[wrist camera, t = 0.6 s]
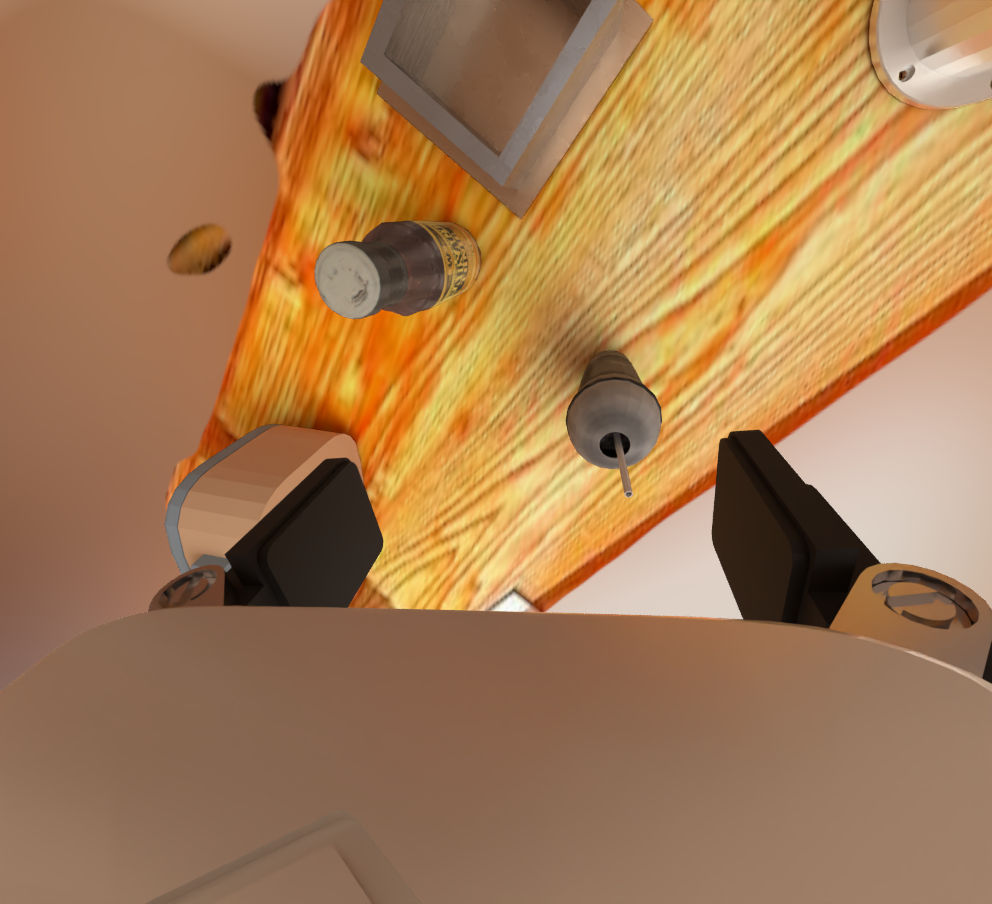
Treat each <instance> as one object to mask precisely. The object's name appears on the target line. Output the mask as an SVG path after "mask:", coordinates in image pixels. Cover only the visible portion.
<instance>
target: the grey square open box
mask: <svg viewBox="0 0 992 904" xmlns="http://www.w3.org/2000/svg"><path fill="white" fill-rule="evenodd" d="M652 23H653V19H652V18H651V17H650V16H649V14H648V13H647V12H646V11H645V10H644V9H643V8H642V7H641V6H640V5H639V4H638V3H637V2H636V1H635V0H383V3H382V6H381V8H380V11H379V14H378V16H377V19H376V21H375V24H374V27H373V29H372V32H371V35H370V37H369V40H368V43H367V45H366V48H365V50H364V53H363V56H362V58H361V61H360V62H361V63H362V64H364V65H365V66H366V67H367V68H368V69H369V70H370V71H371V72H373V73H374V74H375V75H376V76H377V77H378V78H379V79H381V80H382V82H381V84H380V86H379V89H378V91H377V94H378V95H379V96H380V97H381V98H382V99H384V100H385V101H386V102H387V103H388V104H389V105H391V106H392V107H393V108H394V109H395V110H396V111H397V112H399V113H400V114H401V115H402V116H403V117H404V118H405V119H407V120H408V121H409V122H410V123H411V124H412V125H413V126H415V127H416V128H417V129H418V130H419V131H420V132H422V133H423V134H424V135H425V136H426V137H427V138H428V139H430V140H431V141H432V142H433V143H434V144H435V145H436V146H438V147H439V148H440V149H441V150H442V151H443V152H445V153H446V154H447V155H448V156H449V157H450V158H451V159H453V160H454V161H455V162H456V163H457V164H458V165H459V166H461V167H462V168H463V169H464V170H465V171H466V172H467V173H469V174H470V175H471V176H472V177H473V178H474V179H476V180H477V181H478V182H479V183H480V184H481V185H482V186H484V187H485V188H486V189H487V190H488V191H489V192H490V193H492V194H493V195H494V196H495V197H496V198H497V199H499V200H500V201H501V202H502V203H503V204H504V205H505V206H507V207H508V208H509V209H510V210H511V211H512V212H513V213H515V214H516V215H517V216H518V217H519V218H520V219H523V217H524V216H525V214H526V213H527V211H528V210H529V208H530V207H531V205H532V204H533V202H534V201H535V199H536V198H537V196H538V195H539V193H540V192H541V190H542V189H543V187H544V186H545V184H546V183H547V181H548V180H549V178H550V177H551V175H552V174H553V172H554V171H555V169H556V168H557V166H558V165H559V163H560V162H561V160H562V159H563V157H564V156H565V154H566V153H567V151H568V150H569V148H570V147H571V145H572V144H573V142H574V141H575V139H576V138H577V136H578V135H579V133H580V132H581V130H582V129H583V127H584V126H585V124H586V123H587V121H588V120H589V118H590V117H591V115H592V114H593V112H594V111H595V109H596V108H597V106H598V105H599V103H600V102H601V100H602V99H603V97H604V96H605V94H606V93H607V91H608V90H609V88H610V87H611V85H612V84H613V82H614V81H615V79H616V78H617V76H618V75H619V73H620V72H621V70H622V69H623V67H624V66H625V64H626V63H627V61H628V60H629V58H630V57H631V55H632V54H633V52H634V51H635V49H636V48H637V46H638V45H639V43H640V42H641V40H642V39H643V37H644V36H645V34H646V33H647V31H648V30H649V28H650V27H651V25H652Z"/></svg>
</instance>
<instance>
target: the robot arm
mask: <svg viewBox="0 0 992 904" xmlns="http://www.w3.org/2000/svg"><path fill="white" fill-rule="evenodd" d="M869 45H870V52H871V59H872V63H873V66H874V68H875V71H876V73H877V76H878V78H879V80H880V81H881V83H882V84H883V85H884V86H885V88H886V89H887V90H888V92H889V93H890V94H892V95H893V96H895V97H896V98H897V99H899V100H900V101H902V102H903V103H906V104H909V105H912V106H914V107H917V108H922V109H933V110H942V109H951V108H959V107H963V106H966V105H970V104H974V103H978V102H981V101H984V100H987V99H990V98H992V85H991V86H990V84H991V81H992V0H874V3H873V8H872V12H871V17H870V32H869ZM900 72H901V73H902V74H903V76H902V78H901V80H900V81H899V78H898V77H899V73H900ZM712 541H713V545H714V548H715V551H716V553H717V555H718V558H719V561H720V563H721V566H722V568H723V571H724V573H725V575H726V578H727V580H728V583H729V585H730V588H731V590H732V592H733V595H734V598H735V600H736V602H737V605H738V607H739V610H740V612H741V615H742V617H743V620H742V619H741V620H740V619H725V618H707V617H684V616H651V615H617V614H583V613H547V612H505V611H463V610H421V609H379V608H348V606H349V604H350V603H351V601H352V599H353V598H354V596H355V594H356V593H357V591H358V589H359V587H360V586H361V584H362V582H363V581H364V579H365V577H366V576H367V574H368V572H369V571H370V569H371V567H372V566H373V564H374V562H375V561H376V559H377V557H378V556H379V554H380V552H381V550H382V548H383V537H382V534H381V531H380V528H379V526H378V523H377V520H376V517H375V515H374V512H373V509H372V506H371V503H370V501H369V498H368V495H367V492H366V490H365V487H364V484H363V481H362V479H361V476H360V473H359V470H358V467H357V465H356V464H355V463H354V462H351V461H350V460H349V459H348V458H346V457H345V458H330V459H325V460H324V461H323V462H322V463H320V464H319V465H318V466H317V467H316V468H315V469H314V470H313V471H312V472H311V473H310V474H309V475H308V476H307V477H306V478H305V479H304V480H303V481H301V482H300V483H299V484H298V485H297V486H296V487H295V488H294V489H293V490H292V491H291V492H290V493H289V494H288V495H287V496H286V497H285V498H284V499H282V500H281V501H280V502H279V503H278V504H277V505H276V506H275V507H274V508H273V509H272V510H271V511H270V512H269V513H268V514H267V515H266V516H264V517H263V518H262V519H261V520H260V521H259V522H258V523H257V524H256V525H255V526H254V527H253V528H252V529H251V530H250V531H249V532H248V533H247V534H245V535H244V536H243V537H242V538H241V539H240V540H239V541H238V542H237V543H236V544H235V545H234V546H233V547H232V548H231V549H230V550H229V551H228V552H226V553H225V554H224V555H225V556H226V558H227V560H228V561H229V563H230V565H231V568H230V569H229V570H228V571H227V572H225V570H224V568H223V567H221V566H219V565H206V566H201V567H198V568H195V569H192V570H190V571H188V572H186V573H183V574H181V575H180V576H178V577H176V578H175V579H173V580H172V581H170V582H169V583H167V584H166V585H165V586H164V587H163V588H161V589H160V590H159V591H158V593H157V594H156V595H155V596H154V597H153V599H152V601H151V603H150V606H149V610H148V612H144V613H139V614H135V615H131V616H127V617H124V618H120V619H117V620H114V621H111V622H108V623H105V624H102V625H100V626H97V627H95V628H92V629H90V630H87V631H85V632H83V633H81V634H79V635H77V636H75V637H73V638H71V639H70V640H68V641H66V642H65V643H63V644H62V645H61V646H59V647H58V648H56V649H55V650H54V651H52V652H51V653H49V654H48V655H47V656H45V657H44V658H43V659H42V660H40V661H39V662H38V663H36V664H35V665H34V666H33V667H31V668H30V669H29V670H27V671H26V672H25V673H24V674H23V675H21V676H20V677H19V678H17V679H16V680H15V681H13V682H12V683H11V684H10V685H8V686H7V687H6V688H5V689H3V690H2V691H1V692H0V904H992V610H991V608H990V607H989V605H988V604H987V603H986V601H985V600H984V599H983V598H981V597H980V596H979V595H978V594H977V593H975V592H974V591H973V590H972V589H970V588H969V587H967V586H965V585H963V584H962V583H960V582H958V581H957V580H955V579H953V578H950V577H948V576H946V575H943V574H941V573H938V572H936V571H933V570H930V569H926V568H922V567H918V566H914V565H907V564H899V563H886V564H881V563H880V562H879V561H878V560H877V559H876V558H875V556H874V555H873V554H872V553H871V552H870V551H869V549H868V548H867V547H866V546H865V545H864V544H863V542H862V541H861V540H860V539H859V538H858V537H857V536H856V534H855V533H854V532H853V531H852V530H851V529H850V527H849V526H848V525H847V524H846V523H845V522H844V521H843V519H842V518H841V517H840V516H839V515H838V514H837V512H836V511H835V510H834V509H833V508H832V507H831V506H830V505H829V503H828V502H827V501H826V500H825V499H824V497H822V495H821V494H820V493H819V492H818V491H817V489H815V488H814V487H813V486H812V485H808V484H805V483H804V481H803V480H802V479H801V478H800V477H799V476H798V474H797V473H796V472H795V471H794V470H793V468H791V466H790V465H789V464H788V462H787V461H786V460H785V459H784V458H783V457H782V455H781V454H780V453H779V452H778V451H777V449H776V448H775V447H774V446H773V445H772V444H771V442H770V441H769V440H768V439H767V438H766V436H765V435H764V434H763V433H762V432H761V431H760V430H748V431H733V432H730V433H729V436H728V438H722V439H721V440H720V443H719V453H718V464H717V476H716V488H715V500H714V512H713V524H712Z"/></svg>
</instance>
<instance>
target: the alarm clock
mask: <svg viewBox="0 0 992 904" xmlns="http://www.w3.org/2000/svg"><path fill="white" fill-rule="evenodd" d="M345 457H346V458H348V459H349V460H350V461H351V462H354V463H355V464H356V465H357V467H358V470H359V473H360V476H361V479H362V481H363V476H362V468H361V462H360V458H359V454H358V450H357V446H356V443H355V442H354V440H353V439H352V438H351V436H349V435H346V434H342V433H335V432H328V431H321V430H314V429H307V428H300V427H293V426H286V425H279V424H270V425H265V426H261V427H259V428H257V429H255V430H253V431H251V432H249V433H248V434H246V435H245V436H243V437H242V438H240V439H239V440H237V441H236V442H234V443H233V444H231V445H230V446H228V447H227V448H225V449H224V450H222V451H221V452H219V453H217V454H216V455H214V456H213V457H211V458H210V459H208V460H207V461H205V462H204V463H202V464H201V465H200V466H198V467H197V468H196V469H194V470H193V471H192V472H191V473H189V474H188V475H187V476H186V478H185V479H184V480H183V481H182V482H181V483H180V485H179V486H178V487H177V488H176V489H175V491H174V493H173V495H172V497H171V499H170V501H169V503H168V507H167V513H166V519H165V528H166V533H167V537H168V541H169V545H170V549H171V553H172V555H173V557H174V559H175V561H176V564H177V566H178V568H179V570H180V572H181V574H183V573H186V572H188V571H190V570H192V569H195V568H198V567H201V566H206V565H219V566H221V567H223V568H224V570H225V572H227V571H228V570H229V569H230V568H231V565H230V563H229V561H228V560H227V558H226V556H225V555H224V554H225V553H226V552H228V551H229V550H230V549H231V548H232V547H233V546H234V545H235V544H236V543H237V542H238V541H239V540H240V539H241V538H242V537H243V536H244V535H245V534H247V533H248V532H249V531H250V530H251V529H252V528H253V527H254V526H255V525H256V524H257V523H258V522H259V521H260V520H261V519H262V518H263V517H264V516H266V515H267V514H268V513H269V512H270V511H271V510H272V509H273V508H274V507H275V506H276V505H277V504H278V503H279V502H280V501H281V500H282V499H284V498H285V497H286V496H287V495H288V494H289V493H290V492H291V491H292V490H293V489H294V488H295V487H296V486H297V485H298V484H299V483H300V482H301V481H303V480H304V479H305V478H306V477H307V476H308V475H309V474H310V473H311V472H312V471H313V470H314V469H315V468H316V467H317V466H318V465H319V464H320V463H322V462H323V461H324V460H325V459H330V458H345ZM363 484H364V483H363Z"/></svg>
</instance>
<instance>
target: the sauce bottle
mask: <svg viewBox="0 0 992 904" xmlns="http://www.w3.org/2000/svg"><path fill="white" fill-rule="evenodd" d="M480 266H481V252H480V250H479V247H478V245H477V243H476V241H475V239H474V238H473V237H472V235H471V233H470V232H469V231H468V230H466V229H464V228H463V227H461V226H460V225H458V224H455V223H452V222H437V221H402V222H386V223H381V224H380V225H378V226H377V227H376V228H374V229H373V230H372V231H370V232H369V233H368V234H367V235H366V236H365V238H364V239H363V241H362V242H357V241H343V242H336V243H334V244H331V245H329V246H327V247H326V248H325V249H324V250H323V251H322V252H321V253H320V255H319V258H318V259H317V261H316V266H315V282H316V285H317V288H318V290H319V292H320V295H321V297H322V299H323V301H324V302H325V303H326V305H327V306H328V307H329V308H330V309H331V310H333V311H334V312H336V313H338V314H339V315H341V316H344V317H346V318H350V319H360V318H364V317H368V316H371V315H374V314H376V313H378V312H379V311H380V310H381V309H383V310H386V311H392V312H394V313H397V314H400V315H402V316H409V315H412V314H414V313H416V312H419V311H424V310H427V309H430V308H432V307H434V306H436V305H438V304H440V303H442V302H444V301H446V300H449V299H451V298H453V297H455V296H457V295H459V294H461V293H463V292H465V291H466V290H468V289H469V288H470V287H471V286H472V284H473V283H474V282H475V281H476V279H477V277H478V274H479V272H480Z"/></svg>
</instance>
